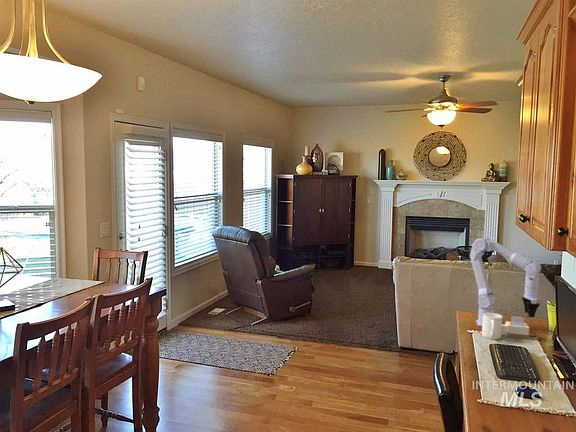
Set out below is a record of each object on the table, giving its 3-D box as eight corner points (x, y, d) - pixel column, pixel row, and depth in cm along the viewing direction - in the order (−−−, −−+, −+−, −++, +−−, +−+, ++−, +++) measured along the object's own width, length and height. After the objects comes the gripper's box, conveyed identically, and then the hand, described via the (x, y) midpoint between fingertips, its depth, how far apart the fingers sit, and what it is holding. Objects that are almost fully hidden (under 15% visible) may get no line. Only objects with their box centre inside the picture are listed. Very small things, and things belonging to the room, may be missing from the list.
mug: (502, 343, 212) (503, 321, 211) (482, 340, 215) (484, 318, 214) (500, 335, 223) (501, 314, 222) (481, 332, 226) (482, 311, 225)
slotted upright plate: (483, 330, 230) (484, 319, 230) (525, 334, 226) (526, 323, 225) (485, 334, 224) (486, 323, 223) (528, 339, 219) (529, 327, 218)
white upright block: (510, 330, 225) (511, 316, 224) (522, 331, 224) (523, 317, 223) (511, 331, 223) (512, 317, 222) (523, 332, 222) (524, 318, 221)
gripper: (544, 291, 217) (542, 320, 218) (537, 284, 231) (535, 311, 232) (527, 289, 219) (525, 318, 220) (521, 283, 232) (519, 310, 234)
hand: (529, 314), depth 226 cm, fingers open, 7 cm apart
